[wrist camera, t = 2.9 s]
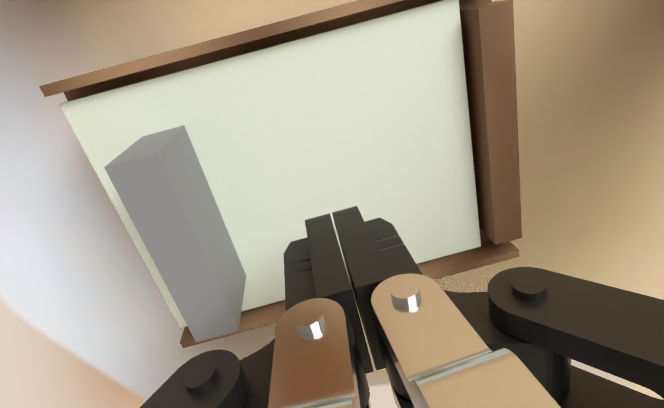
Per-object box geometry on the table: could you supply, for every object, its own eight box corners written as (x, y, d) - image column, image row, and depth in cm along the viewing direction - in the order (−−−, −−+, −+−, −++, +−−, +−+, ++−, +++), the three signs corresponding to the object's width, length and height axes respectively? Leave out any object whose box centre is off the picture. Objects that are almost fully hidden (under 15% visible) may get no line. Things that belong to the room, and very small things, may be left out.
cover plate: (451, -3, 14) (510, -12, 11) (475, 239, 19) (522, 292, 15) (67, 101, 14) (-8, 127, 11) (182, 319, 19) (158, 391, 15)
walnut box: (439, -21, 19) (511, -41, 13) (463, 201, 24) (522, 259, 18) (112, 67, 19) (33, 87, 13) (206, 271, 24) (181, 352, 18)
